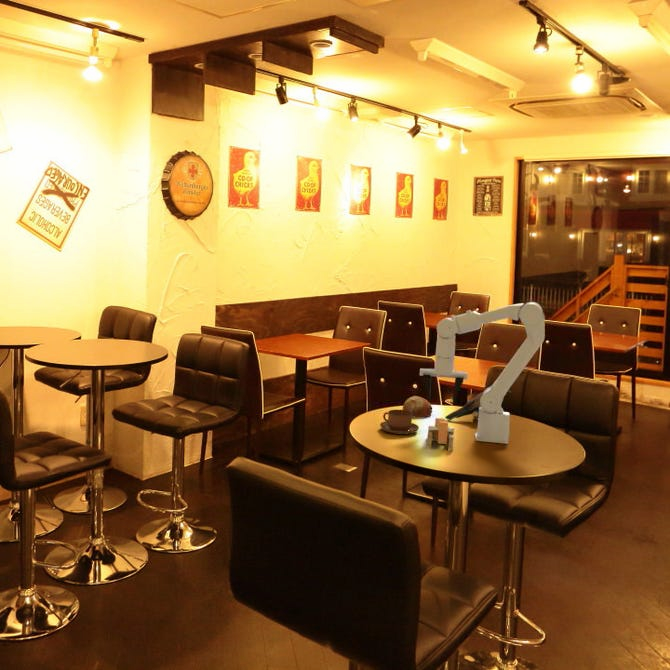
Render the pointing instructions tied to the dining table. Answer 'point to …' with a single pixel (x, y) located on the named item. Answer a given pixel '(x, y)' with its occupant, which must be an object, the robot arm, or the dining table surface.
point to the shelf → (431, 437)
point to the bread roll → (418, 407)
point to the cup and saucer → (399, 422)
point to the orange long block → (441, 430)
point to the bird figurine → (468, 409)
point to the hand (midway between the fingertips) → (441, 400)
